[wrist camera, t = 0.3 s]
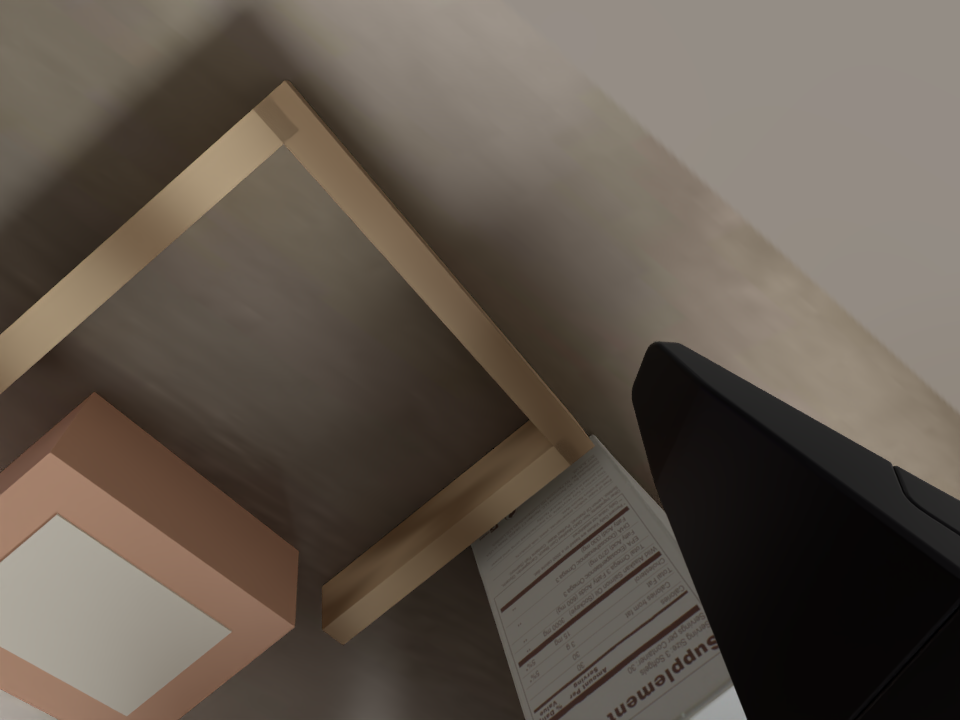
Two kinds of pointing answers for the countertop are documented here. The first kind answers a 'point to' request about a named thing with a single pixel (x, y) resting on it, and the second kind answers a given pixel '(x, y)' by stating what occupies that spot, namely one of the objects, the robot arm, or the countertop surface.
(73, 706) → the carton
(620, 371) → the countertop surface
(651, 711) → the supplement box
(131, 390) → the countertop surface
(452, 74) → the countertop surface
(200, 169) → the u-shaped wooden frame
